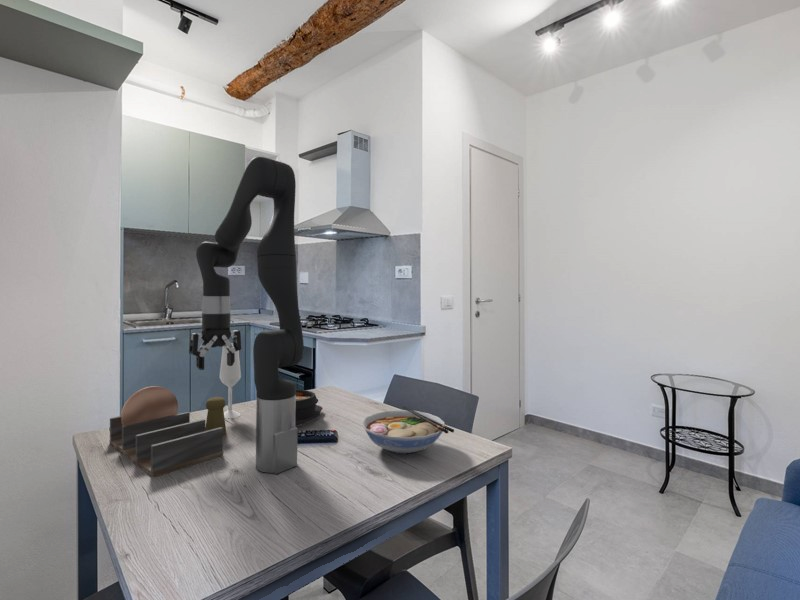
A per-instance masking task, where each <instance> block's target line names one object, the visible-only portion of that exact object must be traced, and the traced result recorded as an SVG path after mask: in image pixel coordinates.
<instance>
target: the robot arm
mask: <svg viewBox="0 0 800 600" xmlns="http://www.w3.org/2000/svg"><path fill="white" fill-rule="evenodd" d="M295 175H296V174H295V172H294V169H293V167H292V166H290V165H289V164H287V163H284V162H281V161H278V160H275V159H272V158H268V157H264V156H255V157H253V158H251V160H250V161H249V162H248V163H247V165H246V167H245V169H244V172H243V174H242V177H241V179H240V181H239V183H238V186H237V189H236V191H235V194H234V197H233V199H232V201H231V202H232V203H231V205H230V207H229V209H228V211H227V213H226V215H225V217H224V219H223V220H222V221H221V223H220V225H219V226H218V228H217V229H216V231H215V233H214V239H215V242H213V241H203V242H201V243H199V245H198V246H197V248H196V251H195V252H196V253H195V254H196V255H195V256H196V262H197V264H198V267H199V271H200V274H201V279H202V301H201V302H202V303H201V330H202V331H201V332H200V333H194V332H192V333H190V335H189V347H188V353H189V355H192V356H195V357H196V359H195V360H196V361H195V363H196V364H195V365H196V366H195V367H196V368H197V369H198V370H200V371H204V370H205V354H206V353H207V352H208V351H209V350H210V349H211V348H217V347H221V348H223V347H225V348H226V350H227V351H228V353H227V365H228V366H233V364H234V362H235V359H234V358H235V352H236V351H238V350H239V351H241V350H242V338H241V337H242V336H241V334H242V333H241V330H237V329H233V330H231V298H230V296H231V295H230V288H231V287H230V285H231V284H230V281H231V280H230V277H227V276H225V275H222V274H218V273H217V271H216V269H215V268H230V267H232V266H233V265H234V264H235V263H236V262H237V258H238V254H239V250H240V246H241V244H243V242H244V240H245V238H246V237H247V236H248V235H249V232H250V231H251V228H252V224H253V223H252V221H253V219H252V214H251V213H252V212H251V204H252V203H253V200H255V198H257V197H258V196H259V197H265V198H269V199H272V200H273V216H272V220H271V223H270V225H269V227H268V229H267V230H266V232H265V234H264V235H263V237H262V238H261V240H260V242H259V244H258V247H257V251H256V260H257V262H256V263H257V275H258V279H259V282H260V284H261V285H262V287H263V289H264V290H265V292H266V294H267V295H268V297H269V299H270V300H271V301H272V303H273V305H274V307H275V309H276V312H277V316H278V317H277V318H278V321H279V324H278V325H279V329H273V330H263V331H260V332H259V333H257V335H256V336H255V338H254V342H253V347H252V348H253V350H252V351H253V352H252V353H253V376H254V377H253V379H254V385H255V386H254V387H255V389H256V409H255V413H256V415H255V416H256V417H255V419H256V420H255V468H256V470H257V471H259V472H262V473H269V474H276V475H277V474H279V473H282V472H284V471H287V470H290V469H292V468H295V467H297V466H298V434H299V433H298V431H299V430H298V427H296V425H295V415H296V390H297V386H296V383H295V382H294V381H292V380H289V379H284V378H281V377H280V372H279V368H286V367H291V366H296V365H298V364H299V363H300V362H301V361H302V358H303V356H304V345H305V344H304V335H303V327H302V321H301V314H300V309H299V296H298V295H299V294H298V281H297V280H298V279H297V275H298V273H297V255H296V240H295V210H296V209H295V208H296V190H297V189H296V187H297V186H296V176H295ZM230 338H232V342H231V341H230V340H229V339H230ZM201 339H202V342H201V344H200V345H199V341H200V340H201ZM231 343H233V346H232V344H231Z"/></svg>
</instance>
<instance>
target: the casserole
mask: <svg viewBox="0 0 800 600" xmlns="http://www.w3.org/2000/svg"><path fill="white" fill-rule="evenodd" d="M318 403H319V399H318V398H317V396H316V393H315V392H313V391H310V390H305V389H296V415H295V426H297V425H302V424H305V423H308V422H311V421H314V420H316V419H317V418H319V417H320V416H321V412H322V410H323V406H322V405H321V406H320V405H318Z"/></svg>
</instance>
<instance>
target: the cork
mask: <svg viewBox="0 0 800 600" xmlns="http://www.w3.org/2000/svg"><path fill="white" fill-rule="evenodd" d="M205 407H206V409H207V414H206V419H205V431H208V430H212V429H215V428H219V427H222V428H223V438H224V437H226V436H227V428H226V427H227V426H226V419H225V418H224V412H225V410H224V408H225V407H226V400H225V398H224V397H222V396H212V397H210V398H207V400H206V401H205Z"/></svg>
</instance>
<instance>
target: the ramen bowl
mask: <svg viewBox="0 0 800 600" xmlns="http://www.w3.org/2000/svg"><path fill="white" fill-rule="evenodd" d="M402 408H403V409H395V410H384V411H379V412H374V413H372V414H370V415H368V416H366V417H364V418H363V420H362V421H361V424H362V426H363V428H364V430H365V432H366V434H367V435H368V437H369V439H370V440H371V441H372V442H373V444H375V445H377V446H378V447H380V448H382V449H384V450H386V451H389V452H390V451H391V452H393V453H394V452H396V453H395V454H399V453H403V454H402V455H407V454H406V453H408V454H411V453H412V452H413V453H416V452H420V451H422V450H425V449H427V448H429V447H431V446H432V445H433V444H434V443H435V442H436V441H437V440H438V439H439V438H440V436H441V435H442V434H443V433H445V434H449V432H451V433H454V432H455V429H454V428H451V427H449V426H447V425H445V424H446V423H445V421H444V420H443V419H442V418H440V417H439V416H437V415H434V414H431V413H429V412H423V411H418V410H412V409H411V408H408V407H406V406H405V405H404V406H402ZM413 453H412V454H413Z"/></svg>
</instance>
